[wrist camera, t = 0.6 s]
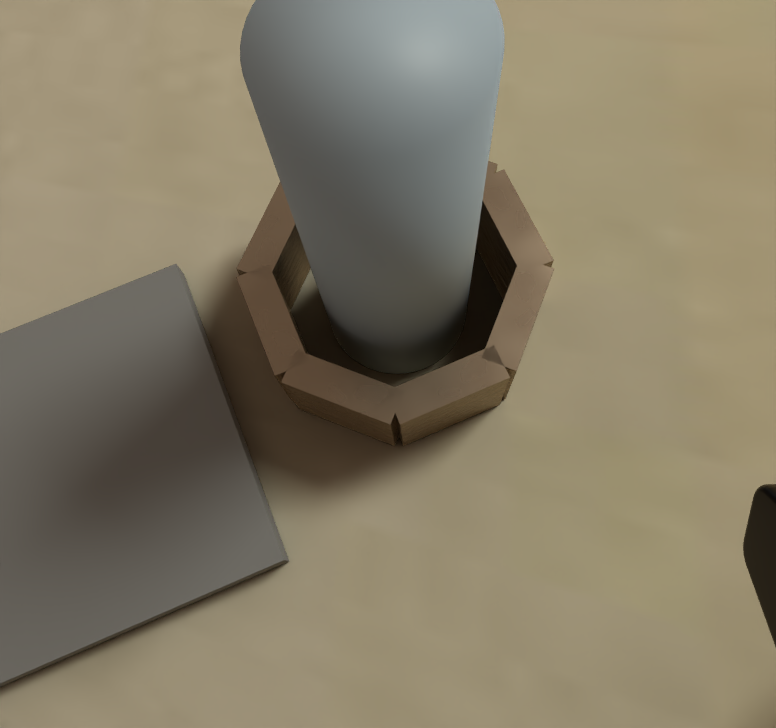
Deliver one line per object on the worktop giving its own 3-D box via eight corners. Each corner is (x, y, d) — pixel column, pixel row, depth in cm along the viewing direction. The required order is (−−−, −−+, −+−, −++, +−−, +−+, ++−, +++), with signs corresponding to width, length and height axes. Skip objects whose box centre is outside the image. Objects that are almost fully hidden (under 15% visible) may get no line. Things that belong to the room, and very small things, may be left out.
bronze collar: (575, 372, 23) (597, 340, 20) (324, 480, 22) (308, 462, 19) (462, 157, 25) (467, 101, 22) (232, 248, 25) (207, 203, 22)
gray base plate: (288, 561, 21) (284, 559, 21) (-42, 704, 21) (-59, 709, 20) (183, 274, 24) (176, 263, 24) (-109, 391, 24) (-127, 383, 23)
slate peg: (488, 341, 23) (550, 95, 12) (360, 395, 23) (294, 196, 11) (432, 227, 24) (438, -95, 13) (309, 276, 24) (204, -10, 13)
